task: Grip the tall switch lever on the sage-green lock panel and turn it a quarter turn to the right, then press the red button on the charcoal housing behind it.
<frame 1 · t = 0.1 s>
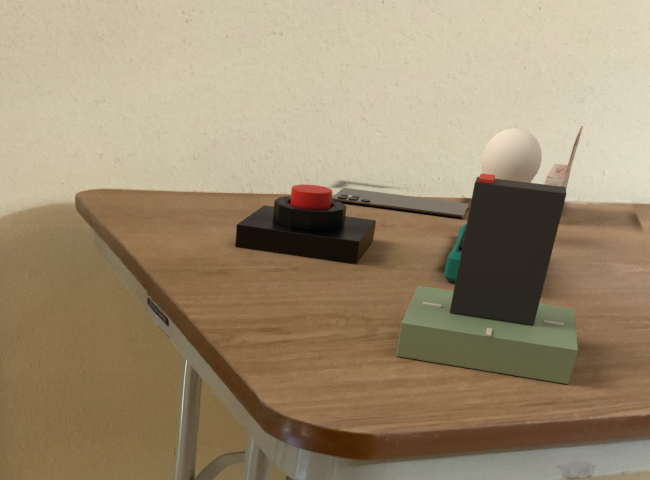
ink cartridge box: (549, 216, 110), on the table
lock panel: (484, 347, 66), on the table
lightbulb: (494, 238, 98), on the table
button box: (306, 244, 89), on the table
button: (311, 198, 86), point 4 cm above the table, slide at 0.1 cm
digital multimeter: (487, 272, 85), on the table
smartphone: (400, 205, 109), on the table
switch lever: (506, 250, 62), point 7 cm above the table, hinge at 0.0°
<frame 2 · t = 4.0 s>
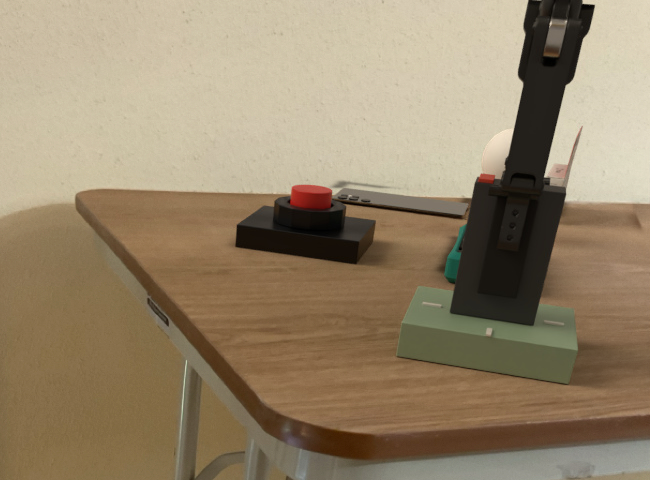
hand: (497, 287, 64), 5 cm above the table, tool pointing down, fingers closed on switch lever, 2 cm apart
switch lever: (506, 250, 62), point 7 cm above the table, hinge at -0.1°, touching gripper
everything else where it was.
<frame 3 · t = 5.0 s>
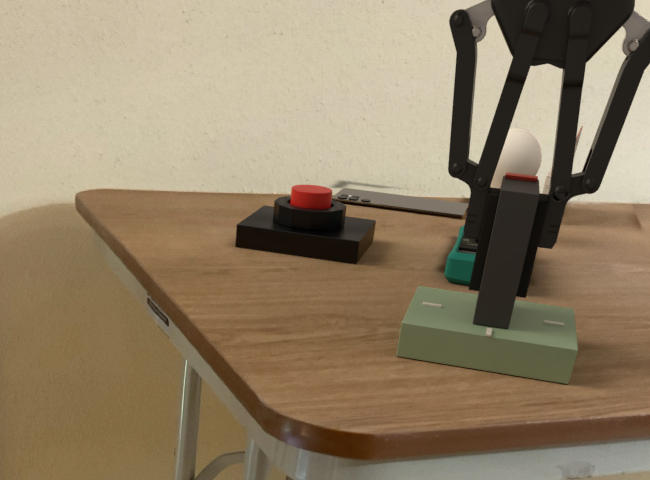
hand: (497, 288, 64), 4 cm above the table, tool pointing down, fingers closed on switch lever, 2 cm apart
switch lever: (506, 250, 62), point 7 cm above the table, hinge at -89.3°, touching gripper
everything else where it was.
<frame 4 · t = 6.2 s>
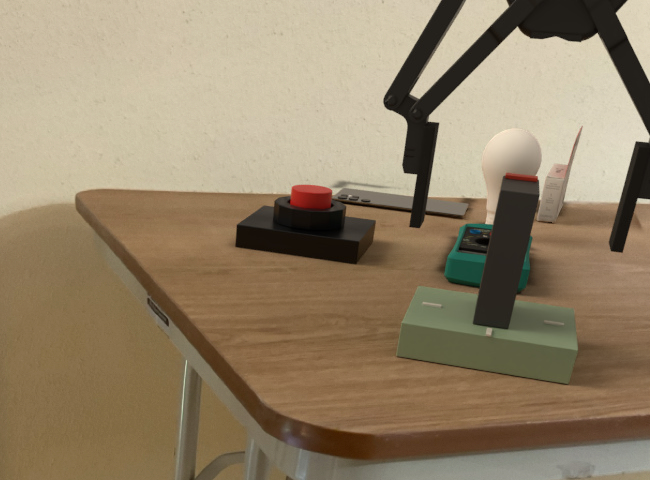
hand: (513, 236, 62), 8 cm above the table, tool pointing down, fingers open, 13 cm apart
switch lever: (506, 250, 62), point 7 cm above the table, hinge at -89.3°
everything else where it was.
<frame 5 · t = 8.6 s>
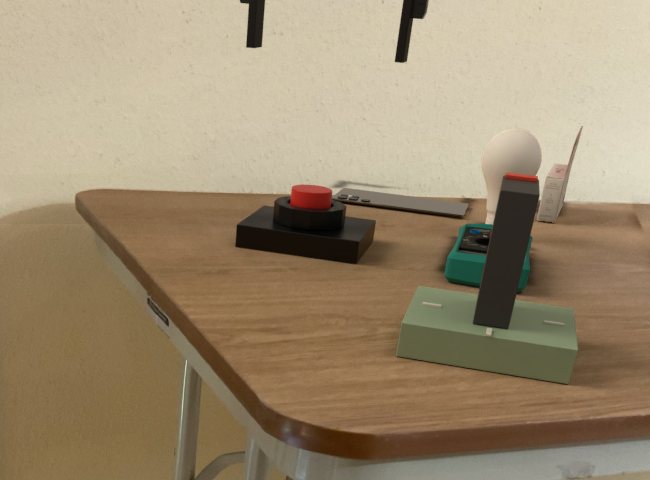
hand: (326, 55, 80), 17 cm above the table, tool pointing down, fingers open, 13 cm apart
nothing on the table moved.
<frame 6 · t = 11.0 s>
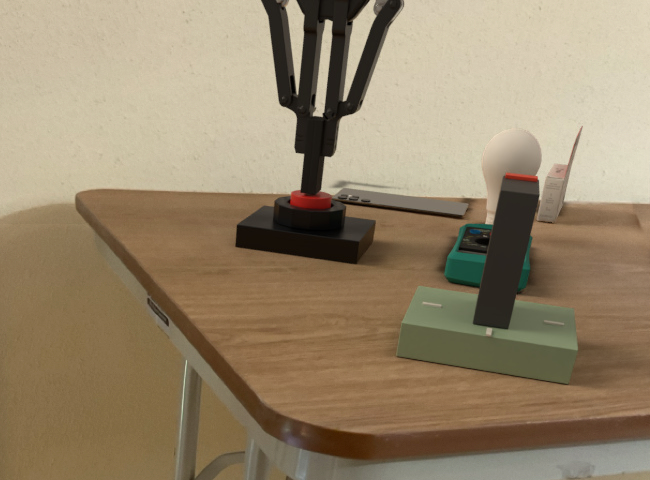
hand: (310, 191, 86), 5 cm above the table, tool pointing down, fingers closed
button: (310, 203, 87), point 4 cm above the table, slide at -0.4 cm, touching gripper
everything else where it was.
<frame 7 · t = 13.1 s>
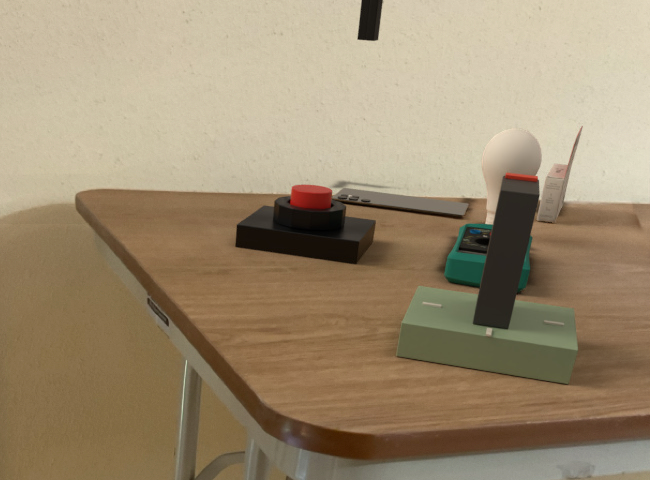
hand: (367, 39, 80), 18 cm above the table, tool pointing down, fingers closed
button: (311, 198, 86), point 4 cm above the table, slide at 0.1 cm
everything else where it was.
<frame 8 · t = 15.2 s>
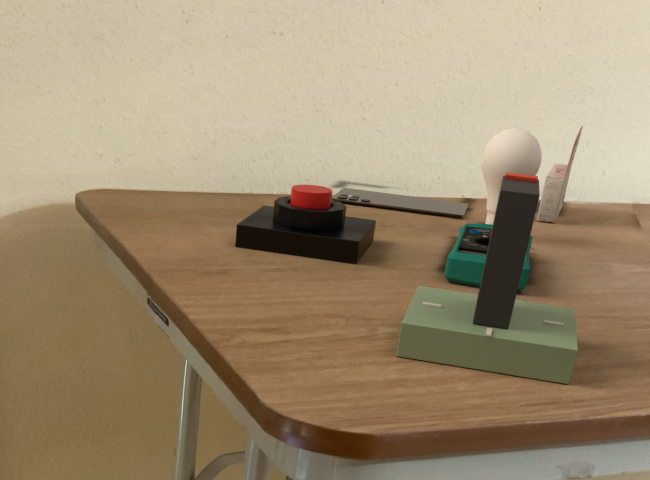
nothing on the table moved.
at the end: switch lever at -89° (first picture: +0°); button pushed in 1.0 cm at the most during the clip, back to where it started at the end; button slide at 0.1 cm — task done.
